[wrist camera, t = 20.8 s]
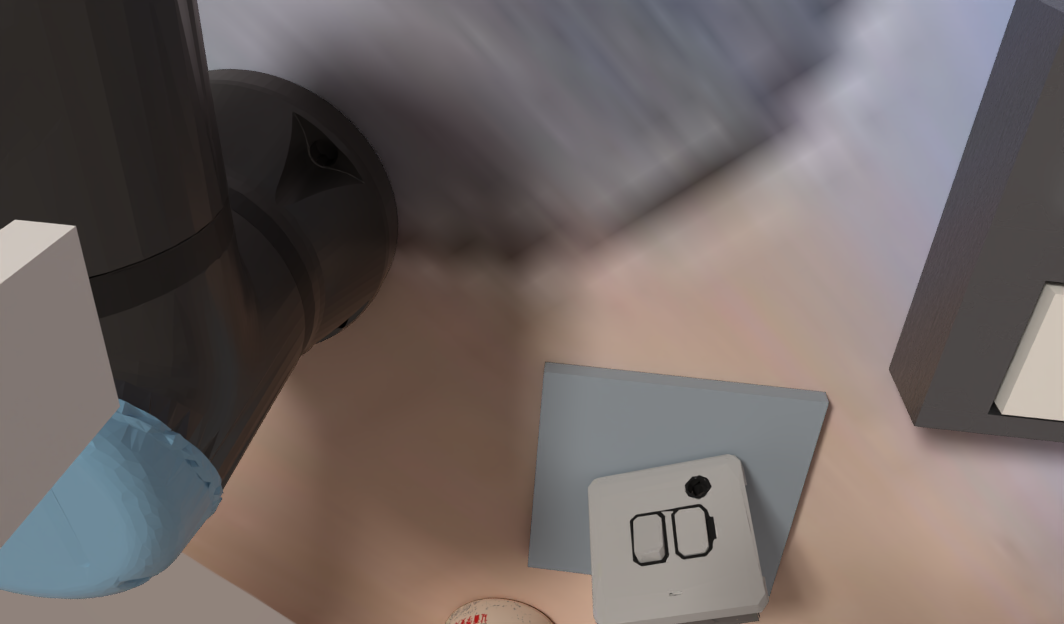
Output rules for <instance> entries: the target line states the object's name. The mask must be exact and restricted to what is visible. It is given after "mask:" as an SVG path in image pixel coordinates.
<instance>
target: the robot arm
mask: <svg viewBox="0 0 1064 624" xmlns="http://www.w3.org/2000/svg"><path fill="white" fill-rule="evenodd" d="M397 235H398V220H397V210H396V204H395V199H394V195H393V191H392V188H391V185H390V182H389V180H388V177H387V174H386V172H385V170H384V168H383V166H382V164H381V162H380V160H379V159H378V157H377V155H376V153H375V152H374V150H373V149H372V147H371V146H370V144H369V143H368V142H367V140H366V139H365V138H364V136H363V135H362V134H361V133H360V132H359V131H358V129H357V128H356V127H355V126H354V125H353V124H352V123H351V122H350V121H349V120H348V119H347V118H346V117H345V116H344V115H343V114H341V113H340V112H339V111H338V110H337V109H336V108H334V107H333V106H332V105H330V104H329V103H328V102H326V101H325V100H323V99H322V98H320V97H319V96H317V95H316V94H314V93H312V92H311V91H309V90H307V89H305V88H303V87H301V86H299V85H297V84H295V83H292V82H290V81H288V80H285V79H282V78H279V77H276V76H273V75H269V74H265V73H261V72H256V71H249V70H238V69H220V70H211V71H208V66H207V60H206V54H205V48H204V42H203V35H202V29H201V23H200V17H199V10H198V4H197V0H0V590H5V591H9V592H13V593H19V594H24V595H30V596H37V597H47V598H61V599H63V598H64V599H85V598H95V597H103V596H108V595H113V594H117V593H121V592H124V591H127V590H130V589H132V588H135V587H137V586H140V585H142V584H144V583H145V582H147V581H148V580H149V579H150V578H151V577H153V576H155V575H158V574H159V573H160V572H162V571H164V570H165V569H166V568H168V566H170V565H171V564H172V563H173V562H174V561H175V559H176V558H177V557H178V556H179V555H180V553H181V552H182V551H183V549H184V548H185V547H186V545H187V544H188V543H189V542H190V540H191V539H192V538H193V536H194V535H195V534H196V532H197V531H198V530H199V529H200V527H201V526H202V525H203V523H204V522H205V521H206V520H207V519H208V518H209V517H210V516H211V515H212V514H213V513H214V512H215V511H216V509H217V507H218V505H219V503H220V502H221V500H222V498H221V495H222V494H223V489H224V487H225V485H226V484H227V482H228V480H229V478H230V477H231V475H232V473H233V472H234V470H235V468H236V466H237V465H238V463H239V461H240V460H241V458H242V456H243V454H244V453H245V451H246V449H247V448H248V446H249V444H250V442H251V441H252V439H253V437H254V436H255V434H256V432H257V430H258V429H259V427H260V425H261V424H262V422H263V420H264V418H265V417H266V415H267V413H268V412H269V410H270V408H271V406H272V405H273V403H274V401H275V400H276V398H277V396H278V394H279V393H280V391H281V389H282V387H283V386H284V384H285V382H286V381H287V379H288V377H289V375H290V374H291V372H292V370H293V369H294V367H295V365H296V363H297V362H298V360H299V358H300V357H301V355H303V354H304V353H306V352H307V351H309V350H310V349H311V348H312V346H313V345H314V344H316V343H319V342H322V341H324V340H326V339H328V338H330V337H332V336H334V335H335V334H337V333H339V332H340V331H342V330H343V329H345V328H346V327H348V326H349V325H350V324H351V323H353V322H354V321H355V320H356V319H357V318H358V317H359V316H360V315H361V314H362V313H363V312H364V311H365V309H366V308H367V307H368V306H369V304H370V303H371V302H372V300H373V299H374V297H375V296H376V294H377V292H378V290H379V288H380V286H381V284H382V283H383V281H384V279H385V277H386V275H387V273H388V271H389V269H390V266H391V263H392V261H393V257H394V254H395V249H396V244H397Z"/></svg>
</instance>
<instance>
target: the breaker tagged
mask: <svg viewBox="0 0 1064 624" xmlns="http://www.w3.org/2000/svg"><path fill="white" fill-rule="evenodd" d="M994 402H995V404H996V405H997V407H998V409H999V410H1000V412H1001V414H1005V415H1014V416H1023V417H1032V418H1042V419H1051V420H1060V421H1064V283H1063V282H1053V281H1045V283H1044V286H1043V288H1042V290H1041V293H1040V295H1039V297H1038V299H1037V302H1036V304H1035V306H1034V309H1033V311H1032V313H1031V316H1030V318H1029V320H1028V322H1027V325H1026V327H1025V329H1024V332H1023V334H1022V336H1021V339H1020V341H1019V343H1018V345H1017V348H1016V350H1015V352H1014V355H1013V357H1012V359H1011V362H1010V364H1009V366H1008V368H1007V371H1006V373H1005V375H1004V378H1003V380H1002V382H1001V385H1000V387H999V389H998V392H997V394H996V396H995V398H994Z"/></svg>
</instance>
